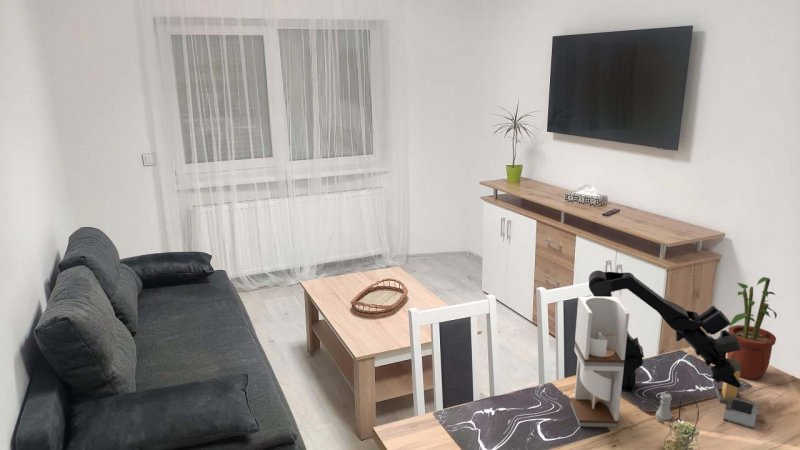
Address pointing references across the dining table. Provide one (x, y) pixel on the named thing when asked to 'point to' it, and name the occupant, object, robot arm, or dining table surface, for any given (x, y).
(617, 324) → the curved tiered shelf
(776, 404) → the dining table surface
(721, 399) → the charcoal tray
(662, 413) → the rook chess piece
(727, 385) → the amber plug
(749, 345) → the potted plant
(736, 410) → the steel socket block
